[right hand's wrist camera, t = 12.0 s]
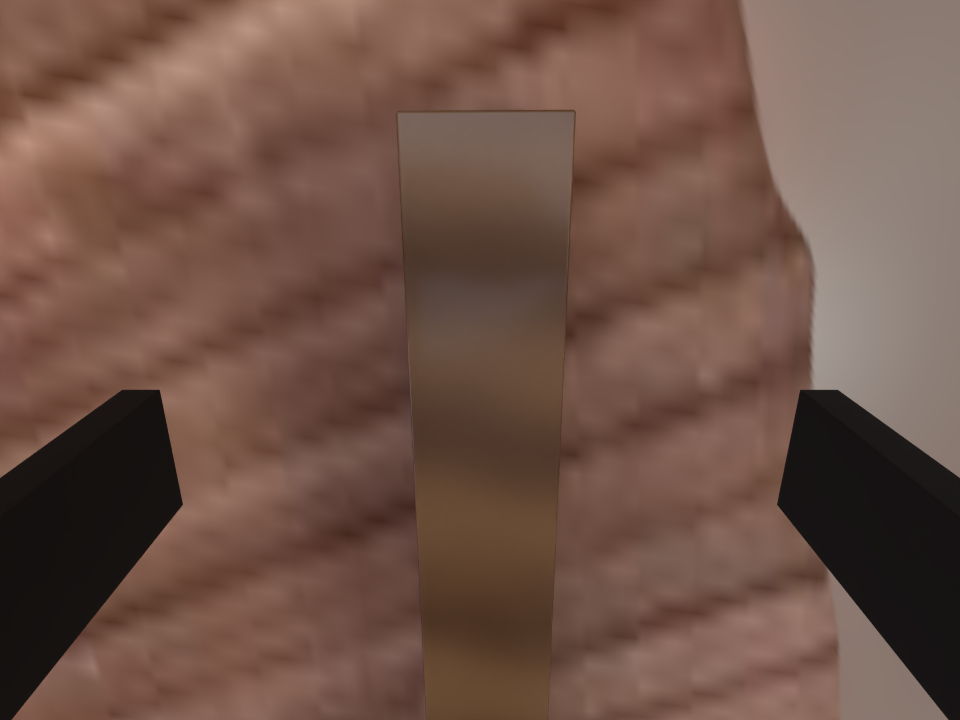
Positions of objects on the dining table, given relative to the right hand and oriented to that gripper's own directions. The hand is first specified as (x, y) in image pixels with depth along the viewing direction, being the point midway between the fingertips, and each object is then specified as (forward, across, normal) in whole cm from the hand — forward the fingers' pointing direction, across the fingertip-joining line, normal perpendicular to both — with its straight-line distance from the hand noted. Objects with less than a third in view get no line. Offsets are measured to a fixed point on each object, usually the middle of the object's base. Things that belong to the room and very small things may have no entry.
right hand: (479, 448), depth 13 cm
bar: (+14, 0, -22) cm, 26 cm away
